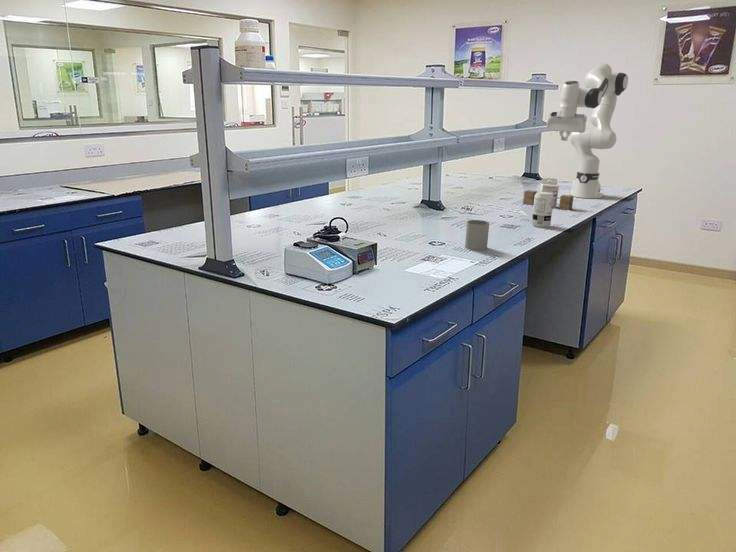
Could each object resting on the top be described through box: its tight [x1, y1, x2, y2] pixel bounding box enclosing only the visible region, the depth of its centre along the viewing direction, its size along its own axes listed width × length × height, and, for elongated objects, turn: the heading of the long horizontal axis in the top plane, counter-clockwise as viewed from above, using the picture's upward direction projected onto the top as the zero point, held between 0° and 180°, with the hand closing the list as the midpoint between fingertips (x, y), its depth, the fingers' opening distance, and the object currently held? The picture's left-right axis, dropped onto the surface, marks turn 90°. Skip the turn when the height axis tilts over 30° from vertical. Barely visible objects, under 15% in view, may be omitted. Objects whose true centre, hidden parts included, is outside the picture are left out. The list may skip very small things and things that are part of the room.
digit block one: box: [558, 194, 575, 211], centre depth 298 cm, size 5×5×7 cm
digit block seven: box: [522, 189, 538, 206], centre depth 310 cm, size 5×5×7 cm
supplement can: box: [531, 191, 554, 229], centre depth 257 cm, size 8×8×15 cm
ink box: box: [539, 177, 559, 208], centre depth 303 cm, size 9×5×15 cm, turn 84°
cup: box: [464, 219, 490, 252], centre depth 217 cm, size 8×8×10 cm
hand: (563, 140), depth 303 cm, fingers closed
